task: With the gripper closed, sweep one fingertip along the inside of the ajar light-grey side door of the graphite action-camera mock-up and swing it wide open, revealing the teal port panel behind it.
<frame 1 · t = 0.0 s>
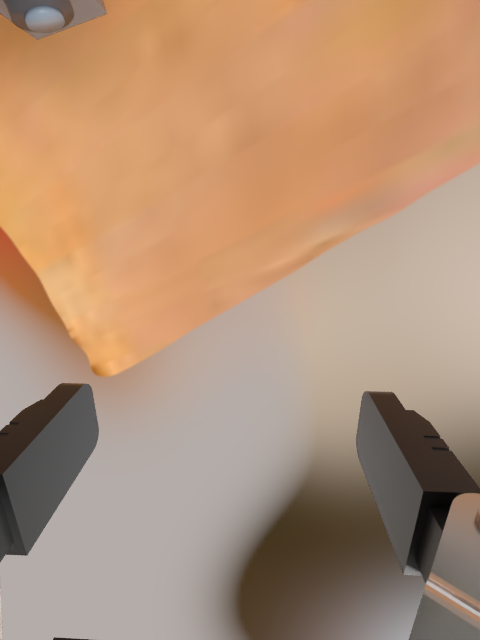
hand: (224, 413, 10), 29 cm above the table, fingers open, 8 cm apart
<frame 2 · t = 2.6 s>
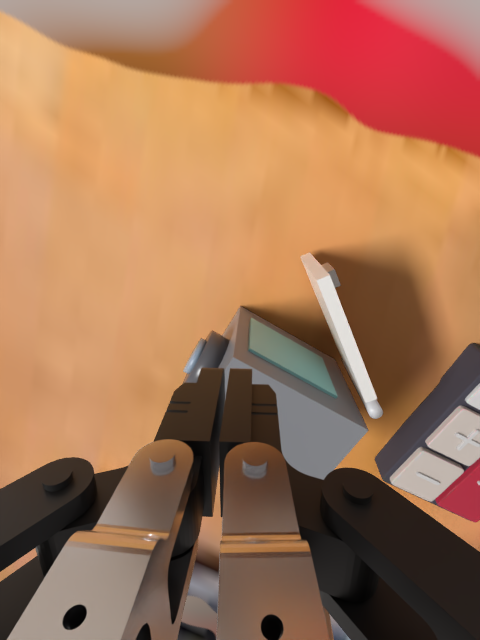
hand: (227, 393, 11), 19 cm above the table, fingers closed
calculator: (461, 424, 34), on the table
camera body: (335, 359, 32), on the table
side door: (339, 318, 25), point 5 cm above the table, hinge at 35.0°
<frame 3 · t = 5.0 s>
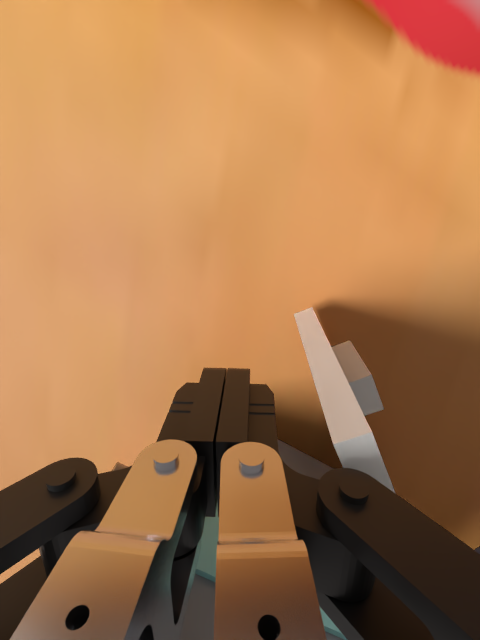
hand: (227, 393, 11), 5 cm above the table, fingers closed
camera body: (352, 478, 19), on the table
side door: (372, 457, 12), point 5 cm above the table, hinge at 35.5°, touching gripper
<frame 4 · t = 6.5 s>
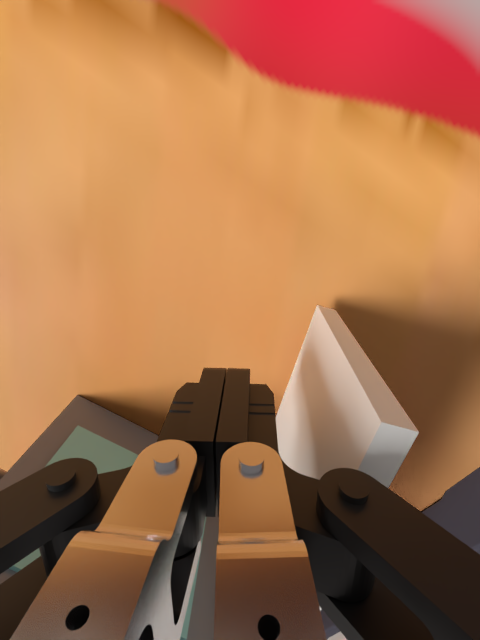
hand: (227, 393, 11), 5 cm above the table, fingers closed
calculator: (456, 561, 21), on the table
camera body: (245, 479, 19), on the table
side door: (312, 460, 12), point 5 cm above the table, hinge at 74.9°, touching gripper
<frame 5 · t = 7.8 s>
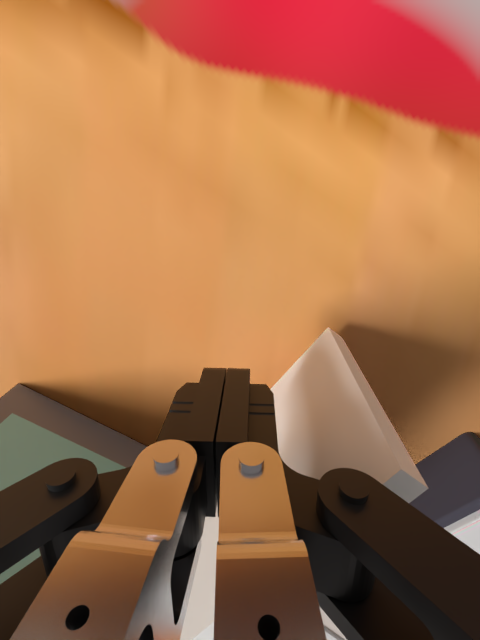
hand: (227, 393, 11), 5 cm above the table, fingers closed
calculator: (408, 547, 21), on the table
camera body: (191, 468, 19), on the table
side door: (279, 471, 12), point 5 cm above the table, hinge at 96.6°, touching gripper
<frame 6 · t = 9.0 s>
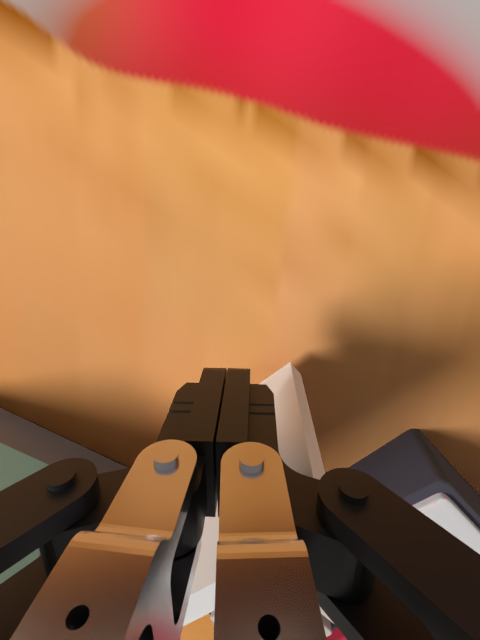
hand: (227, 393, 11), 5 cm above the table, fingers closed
calculator: (355, 543, 21), on the table
camera body: (133, 470, 19), on the table
side door: (214, 493, 13), point 5 cm above the table, hinge at 110.1°, touching gripper
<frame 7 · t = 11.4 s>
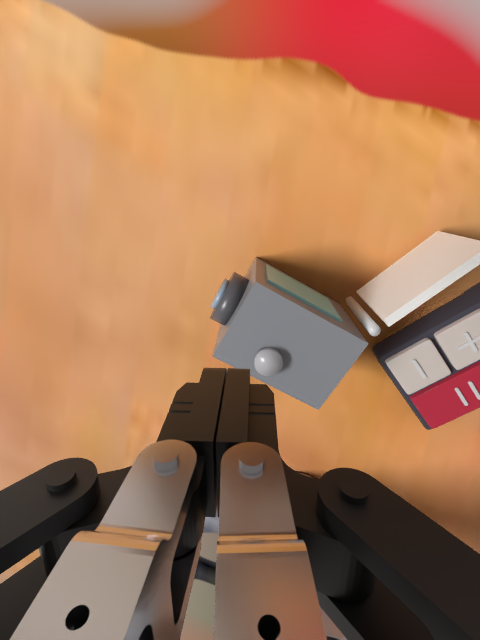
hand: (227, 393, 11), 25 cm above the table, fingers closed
calculator: (455, 346, 38), on the table
camera body: (339, 303, 36), on the table
side door: (417, 278, 30), point 5 cm above the table, hinge at 110.3°
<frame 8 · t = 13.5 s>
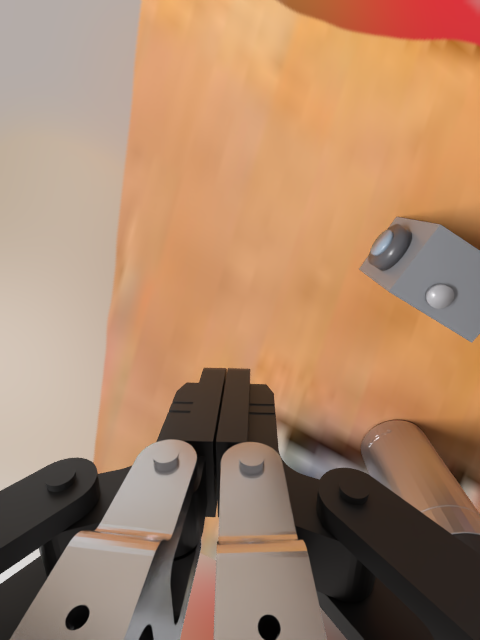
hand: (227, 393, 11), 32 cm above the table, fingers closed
camera body: (464, 261, 41), on the table
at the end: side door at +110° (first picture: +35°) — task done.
